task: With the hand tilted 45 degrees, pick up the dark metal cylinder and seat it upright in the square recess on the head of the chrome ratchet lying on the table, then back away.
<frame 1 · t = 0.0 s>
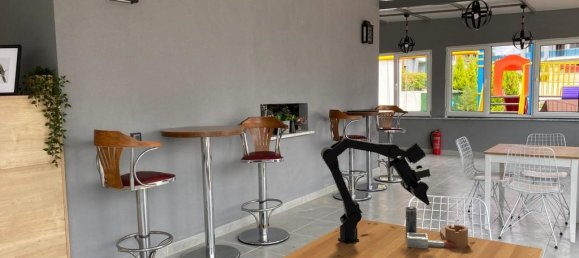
hand: (424, 202, 184), 15 cm above the table, tool tilted 35°, fingers open, 9 cm apart
bracket: (453, 241, 182), on the table, touching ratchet
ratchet: (417, 244, 177), on the table
dark metal cylinder: (411, 233, 191), on the table
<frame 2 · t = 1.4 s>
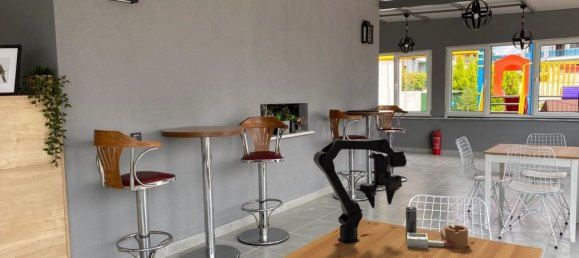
hand: (381, 206, 187), 13 cm above the table, tool pointing down, fingers open, 9 cm apart
nothing on the table moved.
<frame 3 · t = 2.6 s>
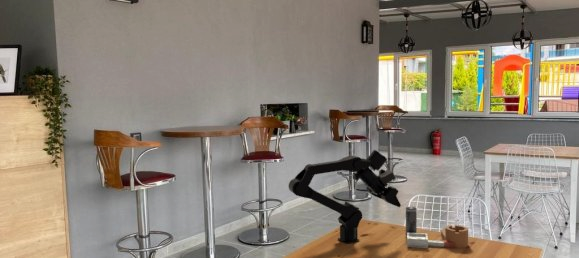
hand: (394, 203, 188), 13 cm above the table, tool tilted 45°, fingers open, 9 cm apart
nothing on the table moved.
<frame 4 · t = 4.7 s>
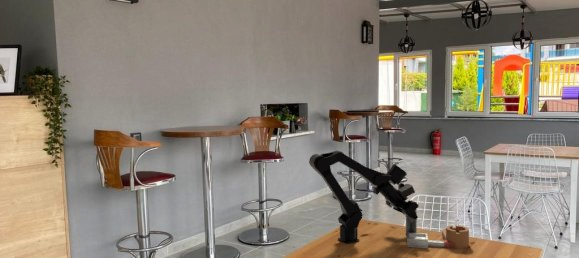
hand: (414, 216, 191), 7 cm above the table, tool tilted 45°, fingers closed on dark metal cylinder, 4 cm apart
dark metal cylinder: (411, 233, 191), on the table, touching gripper
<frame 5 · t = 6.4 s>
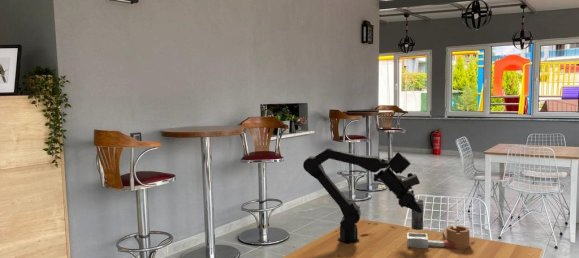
hand: (421, 210, 177), 13 cm above the table, tool tilted 45°, fingers closed on dark metal cylinder, 4 cm apart
bracket: (455, 242, 181), on the table
dark metal cylinder: (417, 228, 178), point 6 cm above the table, touching gripper
when the fingers open (11 cm above the table, at t = 7.3 s): dark metal cylinder drops 1 cm, resting on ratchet.
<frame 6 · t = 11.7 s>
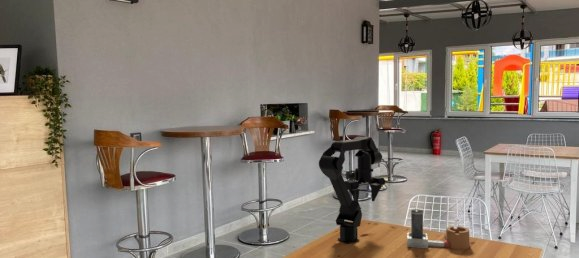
hand: (364, 202, 192), 13 cm above the table, tool pointing down, fingers open, 9 cm apart
bracket: (456, 243, 180), on the table, touching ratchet
dark metal cylinder: (417, 238, 177), point 2 cm above the table, touching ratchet
at the end: dark metal cylinder 0.1 cm off-centre on the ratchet, point 2.4 cm above the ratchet's base; dark metal cylinder tilted 0°; the gripper is holding nothing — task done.
